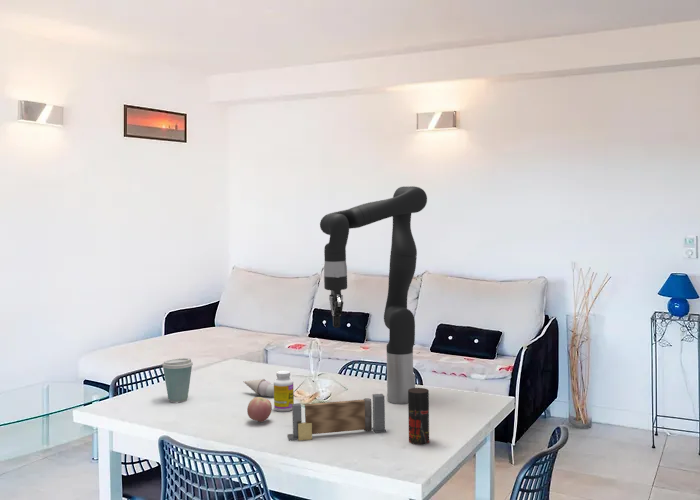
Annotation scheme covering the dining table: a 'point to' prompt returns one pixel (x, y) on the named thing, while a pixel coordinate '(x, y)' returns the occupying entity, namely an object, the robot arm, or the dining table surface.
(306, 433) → the toy blocks
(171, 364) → the disposable coffee cup
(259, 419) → the apple
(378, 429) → the hinge post
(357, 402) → the gate
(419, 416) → the deodorant
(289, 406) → the supplement bottle
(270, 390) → the ice cream cone
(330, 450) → the dining table surface
